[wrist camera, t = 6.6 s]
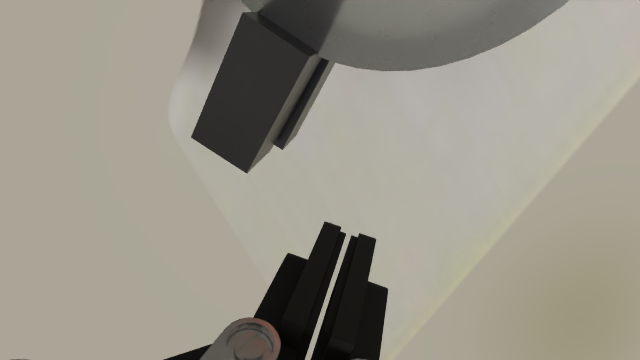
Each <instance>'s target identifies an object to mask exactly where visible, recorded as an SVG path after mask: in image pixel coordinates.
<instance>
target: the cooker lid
mask: <svg viewBox="0 0 640 360" xmlns="http://www.w3.org/2000/svg"><path fill="white" fill-rule="evenodd" d="M241 1H242V2H243V3H244V4H245V5H246V6H247V7H248V8H249V9H250V10H251V11H252V12H244V13H242V15H241V18H240V20H239V23H238V25H237V27H236V30H235V32H234V35H233V37H232V39H231V42H230V44H229V47H228V49H227V52H226V54H225V56H224V59H223V61H222V64H221V66H220V69H219V71H218V73H217V76H216V78H215V81H214V83H213V85H212V88H211V90H210V93H209V95H208V98H207V100H206V102H205V105H204V107H203V110H202V112H201V114H200V117H199V119H198V122H197V124H196V127H195V129H194V131H193V134H192V136H191V138H193V139H194V140H196V141H197V142H199V143H200V144H202V145H204V146H205V147H207V148H208V149H210V150H211V151H213V152H214V153H216V154H217V155H219V156H221V157H222V158H224V159H225V160H227V161H228V162H230V163H231V164H233V165H234V166H236V167H238V168H239V169H241V170H242V171H244V172H245V173H248V172H249V171H250V170H251V169H252V168H253V167H254V166H255V165H256V164H257V163H258V162H259V161H260V160H261V159H262V158H263V157H264V156H265V155H266V154H267V153H268V152H269V151H270V150H271V149H272V147H273V145H274V143H275V141H276V140H277V138H278V136H279V134H280V132H281V131H282V129H283V127H284V125H285V123H286V122H287V120H288V118H289V116H290V114H291V113H292V111H293V109H294V107H295V105H296V104H297V102H298V100H299V98H300V97H301V95H302V93H303V91H304V89H305V88H306V86H307V84H308V82H309V80H310V79H311V77H312V75H313V73H314V71H315V70H316V68H317V66H318V64H319V62H320V61H321V59H322V58H324V59H326V60H329V61H331V62H335V63H339V64H343V65H347V66H351V67H355V68H361V69H370V70H379V71H411V70H418V69H424V68H431V67H438V66H442V65H446V64H449V63H453V62H456V61H460V60H464V59H467V58H470V57H473V56H475V55H478V54H480V53H482V52H485V51H487V50H490V49H492V48H494V47H497V46H499V45H501V44H503V43H505V42H507V41H509V40H510V39H512V38H514V37H516V36H518V35H519V34H521V33H523V32H525V31H527V30H528V29H530V28H532V27H533V26H535V25H536V24H537V23H539V22H540V21H542V20H543V19H545V18H546V17H547V16H549V15H550V14H552V13H553V12H555V11H556V10H557V9H559V8H560V7H562V6H563V5H564V4H565V3H566V2H568V1H569V0H241Z"/></svg>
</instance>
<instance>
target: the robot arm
mask: <svg viewBox="0 0 640 360" xmlns="http://www.w3.org/2000/svg"><path fill="white" fill-rule="evenodd" d="M340 230H341V227H340V226H337V225H334V224H331V223H328V222H324V225H323V227H322V229H321V231H320V234H319V236H318V238H317V240H316V243H315V245H314V247H313V249H312V252H311V254H310V256H309V259H308V260H307V259H304V258H301V257H299V256H296V255H293V254H290V253H288V254H287V255H286V257H285V259H284V261H283V262H282V264H281V266H280V268H279V270H278V272H277V274H276V276H275V278H274V279H273V281H272V283H271V285H270V287H269V289H268V291H267V293H266V295H265V297H264V298H263V300H262V302H261V304H260V306H259V308H258V310H257V312H256V313H255V315H254V317H253V318H243V319H239V320H237V321H234V322H232V323H231V324H230V325H229V326H228V327H226V328H225V329H224V331H223V332H222V333H221V334H220V336H219V337H218V338H217V339H216V340H215V342H214V343H213V344H210V345H207V346H204V347H201V348H198V349H195V350H192V351H189V352H186V353H183V354H180V355H177V356H174V357H170V358H168V359H164V360H305V357H306V354H307V351H308V348H309V345H310V342H311V339H312V336H313V333H314V330H315V327H316V324H317V321H318V318H319V315H320V312H321V309H322V306H323V303H324V300H325V297H326V294H327V291H328V288H329V284H330V281H331V278H332V275H333V272H334V269H335V266H336V263H337V260H338V257H339V254H340V251H341V248H342V245H343V242H344V239H345V236H346V233H343V232H340ZM375 243H376V239H375V238H372V237H369V236H366V235H363V234H360V233H359V236H358V237H355V236H351V238H350V241H349V244H348V247H347V250H346V253H345V256H344V259H343V262H342V265H341V268H340V271H339V274H338V277H337V280H336V283H335V286H334V289H333V291H332V294H331V297H330V300H329V304H328V307H327V310H326V313H325V316H324V319H323V323H322V326H321V329H320V332H319V335H318V338H317V342H316V345H315V348H314V351H313V354H312V358H311V360H379V357H380V349H381V341H382V334H383V326H384V318H385V310H386V303H387V295H388V288H385V287H383V286H380V285H377V284H374V283H371V282H369V281H368V277H369V272H370V267H371V263H372V258H373V253H374V248H375ZM12 360H27V359H12Z"/></svg>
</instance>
